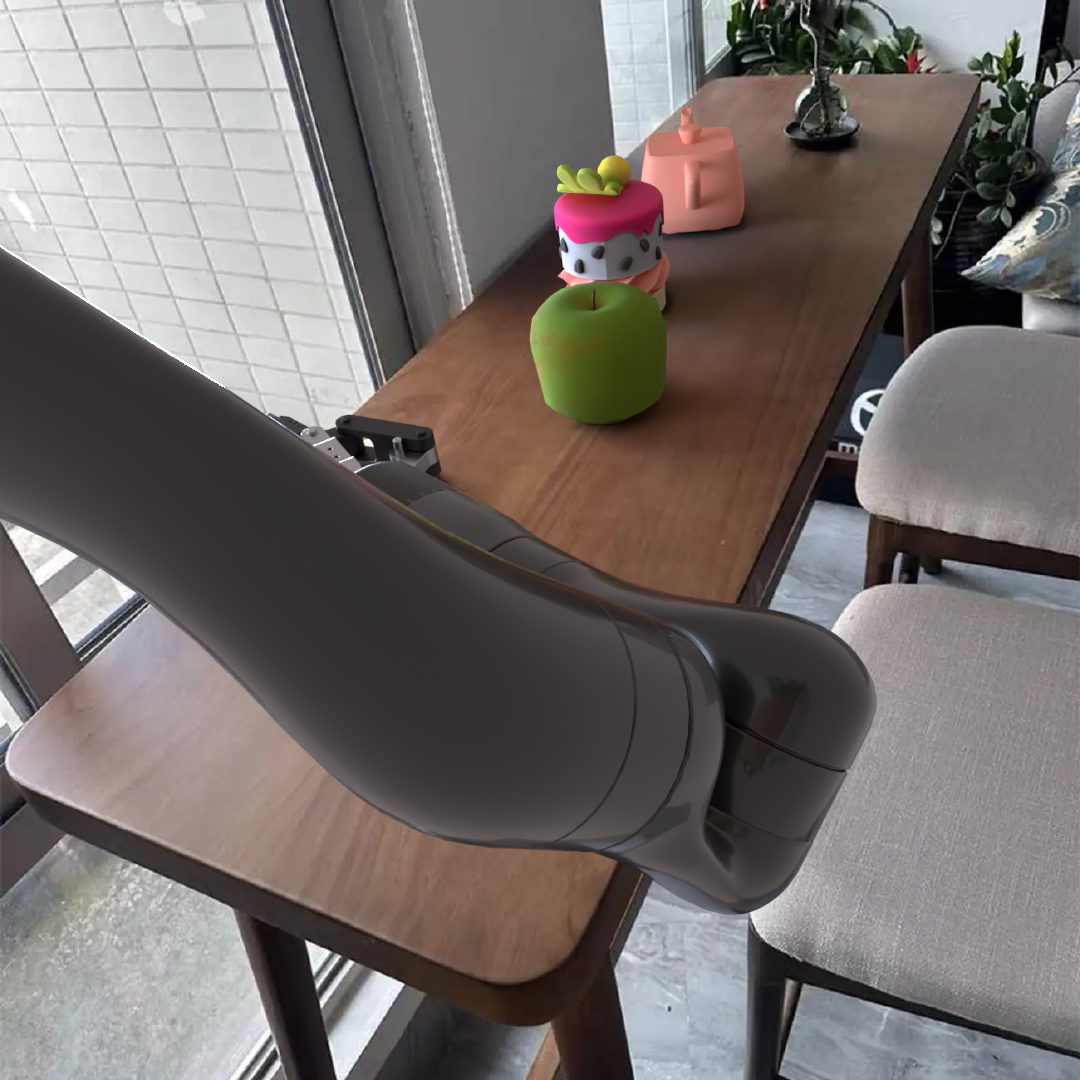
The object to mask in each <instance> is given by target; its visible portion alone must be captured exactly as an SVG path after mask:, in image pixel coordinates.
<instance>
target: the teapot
mask: <svg viewBox="0 0 1080 1080" xmlns="http://www.w3.org/2000/svg"><path fill="white" fill-rule="evenodd" d="M743 175H744V173H743V168H742V163H741V159H740V155H739V151H738V147H737V144H736V140H735V136H734V133H733V130H732V129H731V128H730V127H729V126H708V127H703V126H702V124H699V123H695V121H694V114H693V111H692V109H691V108H690V107H683V108H682V109H681V111H680V126H679V127H677V129H676V130H670V131H662V132H657V133H652V134H650V135H649V136H648V137H647V140H646V146H645V152H644V157H643V163H642V169H641V179H640V181H643V182H646V183H649V184H651V185H653V186H655V187H656V188H657V189H658V190H659V191H660V192H661V194H662V197H663V206H664V225H662V234H666V235H674V234H675V235H676V234H678V233H691V232H702V231H718V230H722V229H723V228H731V227H735V226H738V225H739V224H740V222H741V219H742V218H743V214H744V212H745V181H744V176H743Z"/></svg>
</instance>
